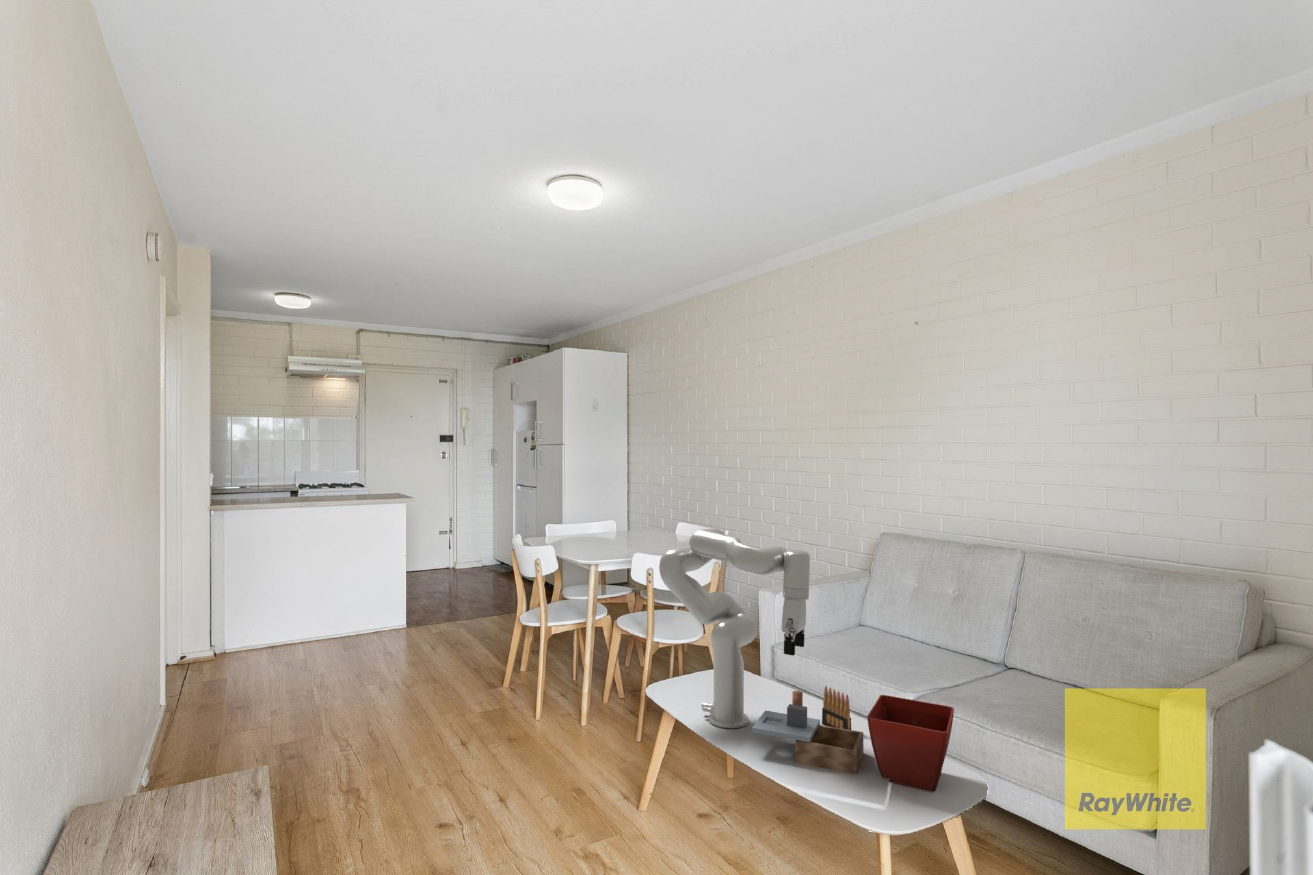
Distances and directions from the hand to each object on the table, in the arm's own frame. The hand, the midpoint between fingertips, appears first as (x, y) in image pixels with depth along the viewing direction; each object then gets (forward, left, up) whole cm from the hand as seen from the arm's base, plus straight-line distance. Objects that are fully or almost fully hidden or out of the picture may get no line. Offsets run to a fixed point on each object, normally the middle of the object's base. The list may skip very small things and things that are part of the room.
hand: (794, 650), depth 197 cm
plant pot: (+33, -10, -26) cm, 44 cm away
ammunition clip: (+10, +13, -26) cm, 31 cm away
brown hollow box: (+12, -10, -26) cm, 30 cm away
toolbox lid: (0, -10, -19) cm, 22 cm away
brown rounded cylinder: (0, +4, -26) cm, 26 cm away
